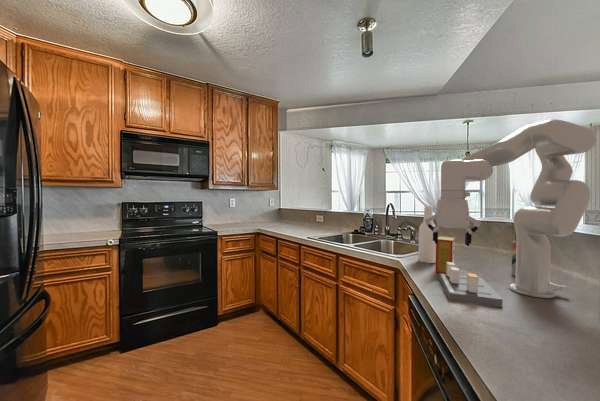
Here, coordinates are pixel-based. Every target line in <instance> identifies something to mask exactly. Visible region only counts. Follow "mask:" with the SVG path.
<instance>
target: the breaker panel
mask: <svg viewBox="0 0 600 401" xmlns="http://www.w3.org/2000/svg"><path fill="white" fill-rule="evenodd" d="M438 274H439V282H440V284H441V286H442V288H443V290H444V292H445V294H446V296H447V298H448V301H451V302H453V301H454V302H460V303H461V302H462V303H468V304H474V305H476V304H477V305H483V306H491V307H498V308H503V302H504V301H503V298H502V297H501V296H500V295H499V294H498V293H497V292H496V291H495V290H494V288H492V287H491V285H489V284H488V283H487V282H486V281H485V280H484V279H483V278H482V277H481V276H478V293H474V292H469V291H468V289H467V275H464V274H463V275H461V274H460V275H459V284H456V283H451V281H450V277H448V276H447V274H443V273H438Z"/></svg>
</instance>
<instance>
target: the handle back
mask: <svg viewBox="0 0 600 401" xmlns="http://www.w3.org/2000/svg"><path fill="white" fill-rule="evenodd" d="M450 267H456V263H455V264H454V263H453V262H447V265H446V274H447V276H448V277H450Z"/></svg>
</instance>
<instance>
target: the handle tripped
mask: <svg viewBox="0 0 600 401" xmlns="http://www.w3.org/2000/svg"><path fill="white" fill-rule="evenodd" d="M466 276H467V289H468V291H469V292H474V293H478V277H479V276H478V275H477V274H476V273H470V272H469V273H466Z"/></svg>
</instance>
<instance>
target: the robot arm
mask: <svg viewBox="0 0 600 401" xmlns="http://www.w3.org/2000/svg"><path fill="white" fill-rule="evenodd" d="M596 144H597V135H596V133H595V132H594V131H593V130H592V129H591V128H588V127H586V126H584V125H580V124H577V123H573V122H570V121H565V120H561V119H553V118H552V119H546V120H544V121H539V122H535V123H532V124H527V125H525V126H523V127H520V128H519V129H517V130H516V131H514V132H513V133H510V134H509V135H507V136H506V137H504V138H502V139H501V140H499V141H497V142H495V143H493V144H490V145H489V146H486V147H484V148H482V149H480V150H478V151H476V152H473V153H471V154H469V155H467V156H465V157H463V158H462V159H450V160H444V161H442V163H441V166H440V196H439V197H440V198H438V199H437V202H436V208H435V214H434V215H433V216H432V217H429V218H427V219H425V222H426V224H427V226H428V227H429V228H430V229H431V230H432V231H433V241H435V244H437V243H438V237H439V232H438V230H440V229H441V228H444V229H445V228H447V229H464V231H466V233H465V237H464V244H465V245H466V246H467V247H469V246H470V244H472V235H473V234H474V233H475V232H476V231H477V230H478V229H479V227H481V224H482V221H480V220H478V219H477V218H474V217H472V216H470V211H469V210H470V209H469V207H470V206H469V202H468V200H467V199H466V198H467V197H470V196H471V192H467V191H466V183H468V182H469V183H470V182H471V183H472V182H484V181H486V180H488V179H489V178H490V177H491V176H492V175H493V172H494V167H498V166H503V165H507V164H509V163H512V162H514V161H515V160H517V159H519V158H521V156H524V155H525V154H527V153H529V152H530V151H532V150H535V152H536V155H537V157H538V158H539V160H540V164H541V171H540V172H539V175H538V177H537V179H536V181H535V183H534V185H533V187H532V190H531V192H530V196H529V199H530V201H531V203H533V204H534V205H537V206H526V207H521V208H519V209H518V210H516V211H515V213H514V215H513V226H514V231H515V232H516V275H515V276H514V277H515V279H514V280H515V282H513V283H510V284H509V288H510V290H511V291H513V292H515V293H517V294H522V295H524V296H529V297H533V298H539V299H552V298H555V297H556V291H558V292H568V286H566V285H560V284H557V283H553V282H551V280H550V278H551V277H550V275H551V252H552V250H551V243H550V240H549V239H548V236H551V237H568V236H570V235H572V234H573V233H574V231H576V229H577V227H578V226H579V224H580V221H581V220H582V217H583V215H584V214H585V212H586V209H587V207H588V206H589V203H590V201H591V188H590V187H589V186H588V184H587V183H585V182H584V181H582V180H578V179H571V178H572V176H573V173H574V172H573V171H574V170H573V167H572V165H571V164H570V162H569V161H568V160H567V159H566V157H565V156H570V155H577V154H584V153H586V152H589V151H591V150H593V148H594V147H595V146H596ZM432 220H433V221H434V222H435V223H434V224H435V227H433V226H432V225H431V224H430V221H432ZM470 222H472V223H474V225H473V226H472V227H470Z"/></svg>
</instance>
